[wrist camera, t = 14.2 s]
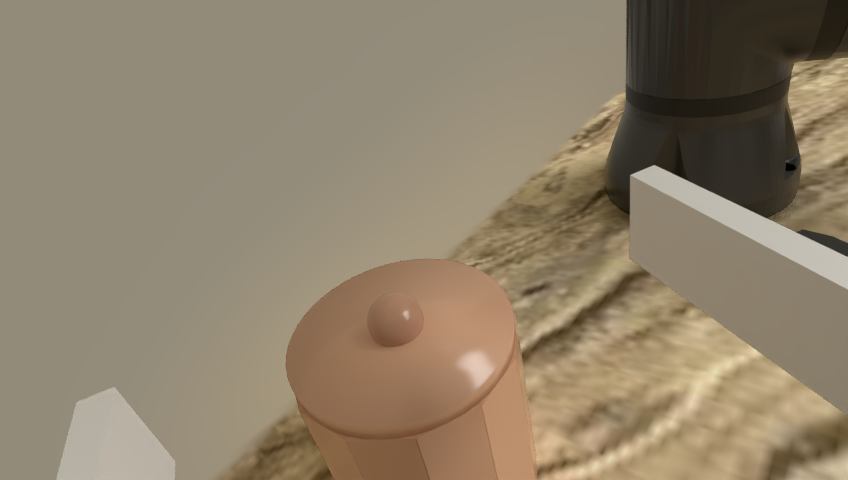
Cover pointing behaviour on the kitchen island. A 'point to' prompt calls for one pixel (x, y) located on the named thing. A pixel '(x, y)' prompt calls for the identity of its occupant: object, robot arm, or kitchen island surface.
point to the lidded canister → (415, 376)
